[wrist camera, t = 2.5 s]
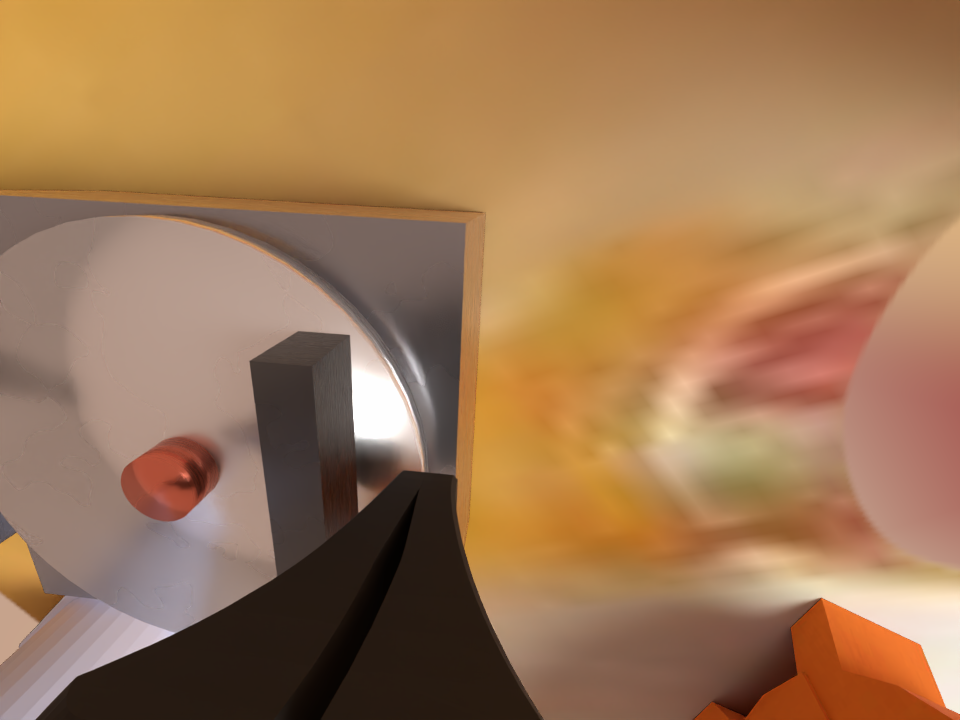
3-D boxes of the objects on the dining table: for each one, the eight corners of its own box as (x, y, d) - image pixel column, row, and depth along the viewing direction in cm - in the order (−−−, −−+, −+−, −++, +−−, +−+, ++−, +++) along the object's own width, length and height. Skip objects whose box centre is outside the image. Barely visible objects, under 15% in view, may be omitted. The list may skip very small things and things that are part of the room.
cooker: (-86, 461, 22) (-409, 604, 14) (-212, 172, 18) (-777, 155, 10) (469, 517, 20) (437, 712, 13) (485, 212, 16) (451, 230, 8)
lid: (53, 598, 15) (-43, 681, 13) (-87, 199, 11) (-279, 200, 8) (426, 642, 15) (404, 741, 12) (432, 231, 10) (401, 243, 8)
